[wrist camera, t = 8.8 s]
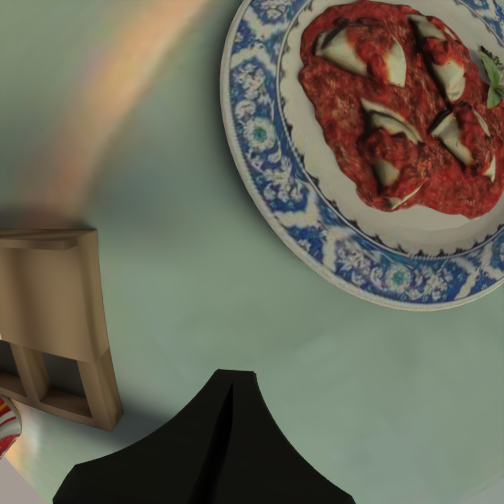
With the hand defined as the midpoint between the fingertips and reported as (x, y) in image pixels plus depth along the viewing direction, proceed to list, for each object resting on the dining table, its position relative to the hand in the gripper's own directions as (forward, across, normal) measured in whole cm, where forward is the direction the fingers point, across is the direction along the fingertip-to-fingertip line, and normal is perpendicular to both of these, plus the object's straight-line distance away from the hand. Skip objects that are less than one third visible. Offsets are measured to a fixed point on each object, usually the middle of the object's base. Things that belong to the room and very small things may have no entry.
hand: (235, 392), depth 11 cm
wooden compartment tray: (+9, +18, +4) cm, 20 cm away
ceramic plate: (+10, -11, -13) cm, 20 cm away
